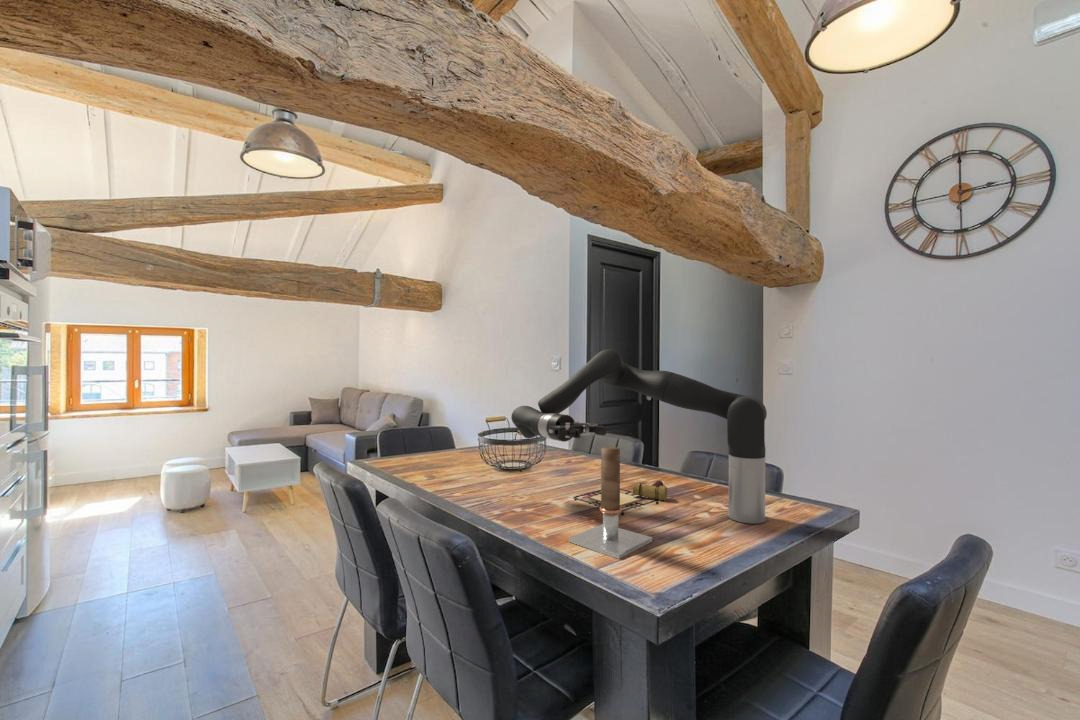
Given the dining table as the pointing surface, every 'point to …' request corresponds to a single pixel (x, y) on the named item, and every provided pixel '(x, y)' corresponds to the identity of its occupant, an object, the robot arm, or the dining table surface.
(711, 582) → the dining table surface
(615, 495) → the walnut dowel
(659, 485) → the olive strapped bedroll
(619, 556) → the steel post
